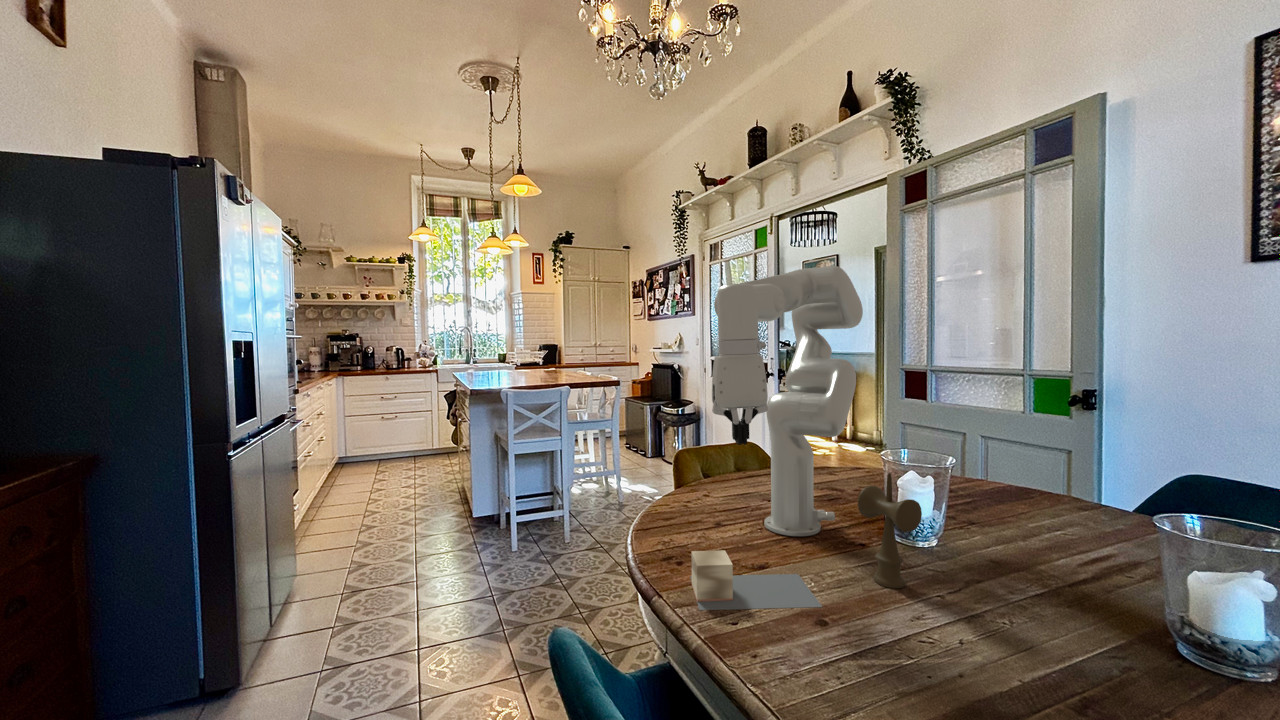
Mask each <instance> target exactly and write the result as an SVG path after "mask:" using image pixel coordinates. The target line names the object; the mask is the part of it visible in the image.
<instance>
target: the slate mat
mask: <svg viewBox="0 0 1280 720" xmlns="http://www.w3.org/2000/svg"><path fill="white" fill-rule="evenodd" d="M689 577H690V581H691V583H692V575H690V576H689ZM695 599H696V598H695ZM696 603H697V607H698V610H699V611H719V610H720V611H723V610H725V611H726V610H727V611H728V610H729V611H730V610H760V609H761V610H762V609H764V610H765V609H766V610H767V609H803V608H808V609H809V608H823V605H822V604H821V603H820V601H819V600H818V598H817V597H816V596H815V594H814V593H813V592H812V590H810V588H809V587H808V586H807V583H805V581H804V580H803V579H802V577H801V576H800V575H799V573H783V574H782V573H781V574H779V573H778V574H777V573H775V574H774V573H773V574H744V575H743V574H741V575H740V574H739V575H738V574H737V575H735V574H733V600H724V601H697V599H696Z"/></svg>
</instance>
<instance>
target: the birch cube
mask: <svg viewBox="0 0 1280 720" xmlns="http://www.w3.org/2000/svg"><path fill="white" fill-rule="evenodd" d="M733 569H734V568H733V563H732V560H731V559H730V556H729V555H728V553H727V552H726V550H722V549H721V550H691V576H692V582H691V586H692V589H693V593H694V596H695V599H697V600H696V602H697V601H724V600H733V575H734V572H733V571H734V570H733Z"/></svg>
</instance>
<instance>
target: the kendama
mask: <svg viewBox="0 0 1280 720" xmlns="http://www.w3.org/2000/svg"><path fill="white" fill-rule="evenodd" d="M885 487H886V488H885V490H886V492H885V493H884V491H883V490H882V489H881V488H880V487H879V486H878V485H870V484H869V485H868V486H865V487H863V488H862V489H861V490H860V492H859V494H858V498H857V509H858V512H859V513H860V515H861V516H863V517H864V518H868V519H869V518H871V519H872V518H876V517H879V516H880V515H883V516H884V523H883V524H884V525H883V532H882V539H881V545H880V548H879V551H878V552H876V554H875V555H874V558H875V559H876V561H877V570H876V572H875V573H874V574H873V576H872V579H873V581H874V582H875V584H877V585H879V586H882V587H884V588H887V589H901V588H903V587H905V585H906V584H907V583H906V580H905V579H904V578H903V577H902V574H901V565H902V564H903V563H904V559H903V557H902V556H901V555H900V553H899V549H898V543H897V538H896V530H895V526H896V527H897V528H898V530H900V531H902V532H906V533H907V532H908V533H909V532H910V533H911V532H913V531H915V530H916V529H917V528H918V527H919V526H920V524H921V521H922V515H923V514H922V507H921V505H920V503H919V502H918V501H916V500H915V499H909V498H907V499H904V500H901V501H893V480H892V473H891V472H888V473H887V476H886V486H885Z"/></svg>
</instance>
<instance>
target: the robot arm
mask: <svg viewBox="0 0 1280 720" xmlns="http://www.w3.org/2000/svg"><path fill="white" fill-rule="evenodd" d="M713 303H714V304H713V305H714V308H713V309H714V311H715V314H716V316H717V333H718V334H717V335H718V355H717V356H714V359H713V364H712V377H711V401H712V413H713V415H718V416H723V417H725V418H727V419H728V420H729V422H731V431H732V432H731V434H732V435H731V437H732V440H733V441H735V444H737V445H739V446H741V445H748V440H750V424H751V423H752V420H753V419H755V417H756V416H757V415H759V414H763V413H765V414H766V420H767V425H768V430H769V437H770V438H769V439H770V507H771V508H770V515H769V516H767V517H765V518H764V522H763V523H764V526H765V528H766V529H767V530H769V532H770V531H771V532H773V533H775V534H778V535H783V536H788V537H809V536H814V535H816V534H818V533H820V532H821V530H822V529H821V527H822V525H821V523H820V522H822V521H835V520H836V515H835V512H834V511H826V510H825V509H816V508H815V507H814V451H813V448H812V446H811V444H810V442H809V440H808V439H807V438H806V435H807V436H815V437H825V438H833V437H838V436H839V435H840V434H841V433H842V432H843V431H844V429H845V426H846V424H847V420H848V416H849V413H850V410H851V405H852V402H853V399H854V396H855V391H856V388H857V387H856V386H857V373H856V370H855V367H854V365H853V364H852V363H851V362H850V361H849V360H847V359H843V358H831V357H832V353H833V352H832V347H831V345H830V344H829V342H828V341H827V339H826V338H825V337H824V336H823V335H822V334H821V333H819V331H818V330H843V329H852V328H855V327H857V326H858V325H860V323H861V321H862V318H863V314H864V313H863V304H862V302H861V298H860V296H859V294H858V292H857V290H856V288H855V286H854V284H853V281H852V280H851V278H850V277H849V275H848V274H847V272H846V271H845V270H844V269H843V268H841V267H840V266H836V265H829V266H820V267H810V268H809V267H808V268H800V269H795V270H792V271H789V272H785V273H781V274H777V275H771V276H766V277H764V278H763V277H762V278H759V279H755V280H751V281H745V282H741V283H731V284H725V285H721V286H720V287H719V288H718V290H717V293H716V295H715V299H714V302H713ZM788 312H791V320H792V321H791V322H792V326H793V332H794V335H795V336H794V337H795V341H796V347H795V351H794V354H793V357H792V359H791V362H790V365H789V367H788V370H787V372H786V376H785V383H784V384H785V388H786V390H787V391H781V392H778V393H774V394H773V395H772V396H770V397H769V396H768V383H767V382H768V381H767V374H766V369H765V368H766V367H765V363H764V359H763V355H761V354H759V353H760V351H761V350H763V349H765V350H766V348H767V347H766V346H767V344H766V341H760V338H759V323H761V322H762V323H765V322H773V321H775V320H777V319H779V318H780V317H781V316H782V315H783V314H784V313H788ZM768 397H769V399H768ZM738 409H742V411H741V419H740V418H739V412H738Z"/></svg>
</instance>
